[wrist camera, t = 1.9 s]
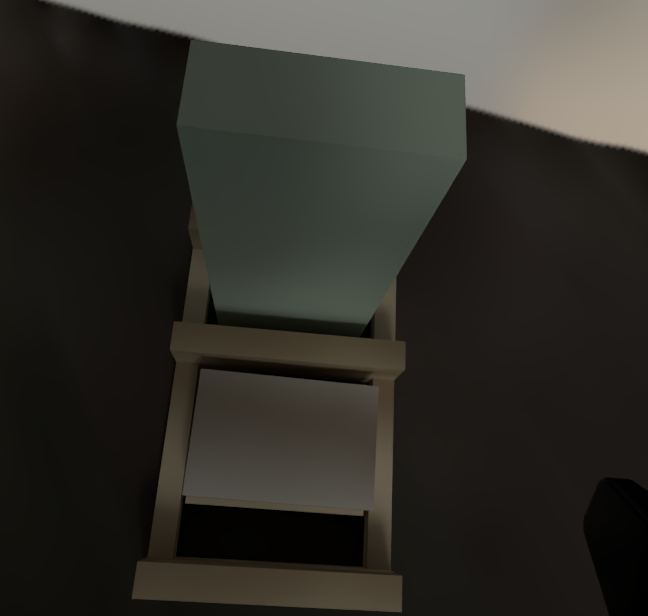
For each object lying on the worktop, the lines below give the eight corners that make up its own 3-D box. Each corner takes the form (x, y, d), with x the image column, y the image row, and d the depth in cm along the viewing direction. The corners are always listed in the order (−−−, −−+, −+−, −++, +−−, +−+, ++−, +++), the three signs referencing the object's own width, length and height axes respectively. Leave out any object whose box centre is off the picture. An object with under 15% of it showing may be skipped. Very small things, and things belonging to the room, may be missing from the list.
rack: (384, 599, 20) (401, 611, 18) (147, 587, 19) (131, 598, 17) (392, 253, 24) (407, 226, 22) (198, 234, 24) (191, 203, 21)
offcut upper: (364, 510, 20) (373, 510, 18) (186, 495, 19) (181, 495, 18) (370, 394, 21) (378, 386, 20) (203, 377, 21) (200, 368, 19)
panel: (359, 337, 23) (466, 159, 11) (218, 325, 22) (176, 125, 11) (361, 290, 24) (465, 74, 12) (224, 277, 23) (190, 39, 11)
